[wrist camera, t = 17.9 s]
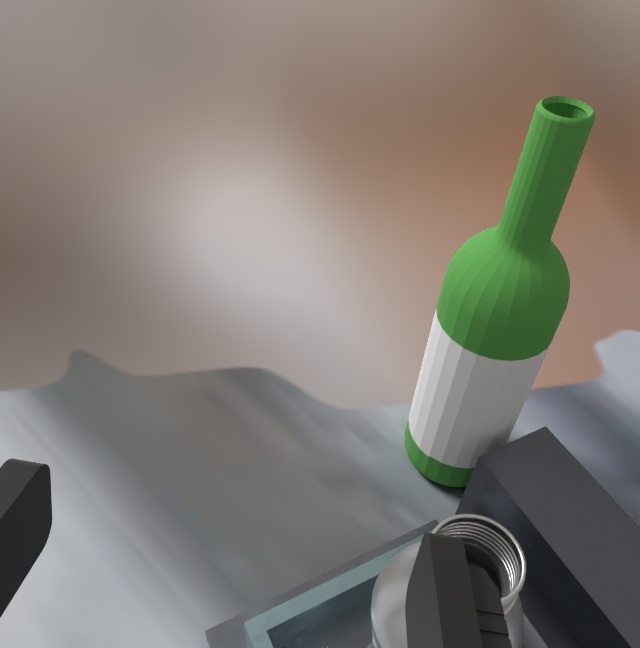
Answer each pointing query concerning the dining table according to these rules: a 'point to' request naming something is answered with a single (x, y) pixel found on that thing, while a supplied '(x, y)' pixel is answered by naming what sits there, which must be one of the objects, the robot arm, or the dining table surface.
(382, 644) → the plastic bottle
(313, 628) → the teal open bin
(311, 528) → the dining table surface
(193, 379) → the dining table surface
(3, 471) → the robot arm
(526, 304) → the wine bottle
